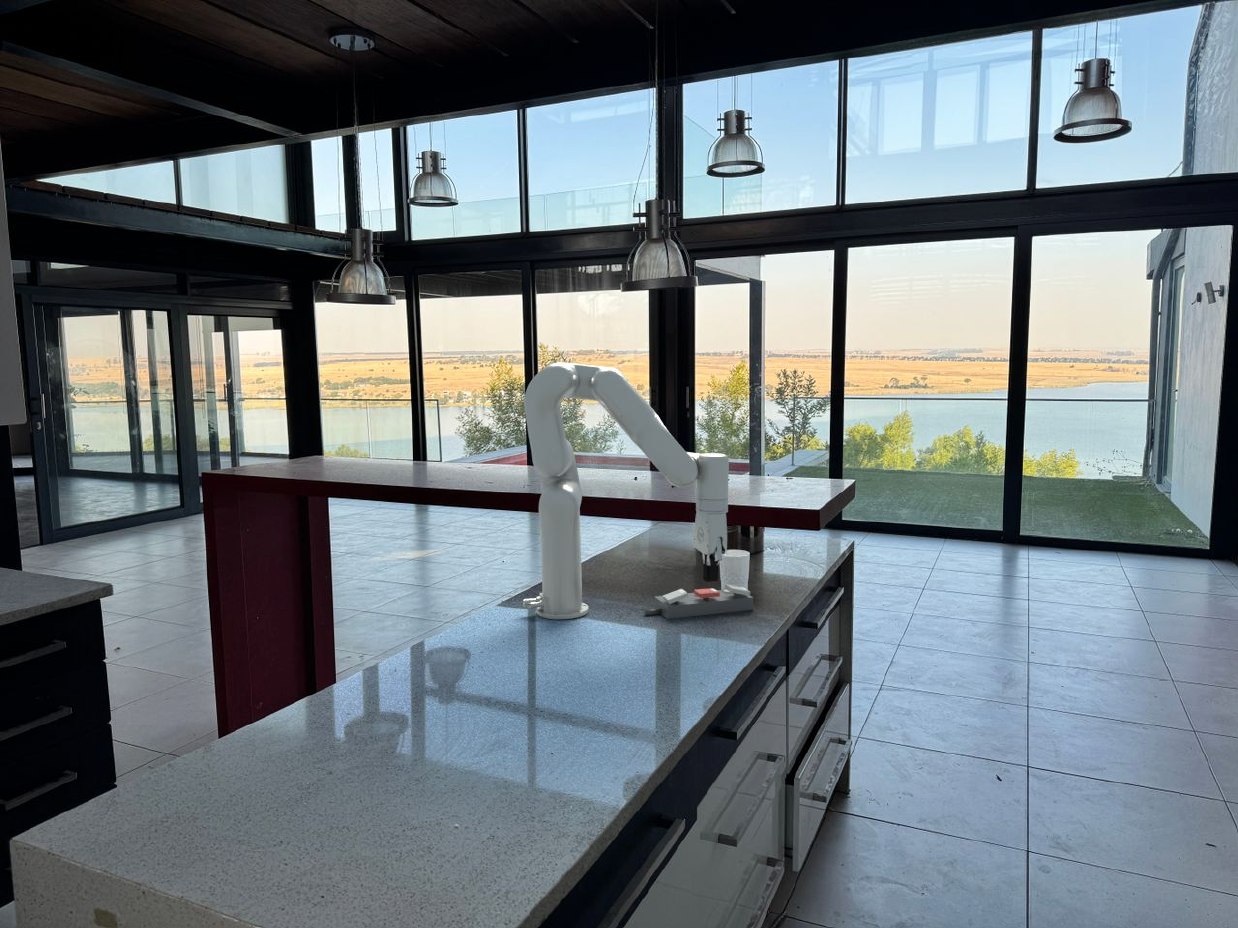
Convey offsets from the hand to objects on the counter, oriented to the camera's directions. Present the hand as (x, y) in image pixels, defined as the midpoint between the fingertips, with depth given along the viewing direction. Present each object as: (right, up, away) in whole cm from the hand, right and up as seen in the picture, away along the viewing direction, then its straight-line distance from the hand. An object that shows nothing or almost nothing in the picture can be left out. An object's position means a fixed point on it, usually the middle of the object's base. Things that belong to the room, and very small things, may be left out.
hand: (710, 580), depth 206 cm
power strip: (-3, -7, +2) cm, 8 cm away
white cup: (+8, -5, +19) cm, 21 cm away
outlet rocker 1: (-9, -3, -2) cm, 10 cm away
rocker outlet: (+7, -3, +2) cm, 8 cm away
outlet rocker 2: (-1, -3, 0) cm, 3 cm away
